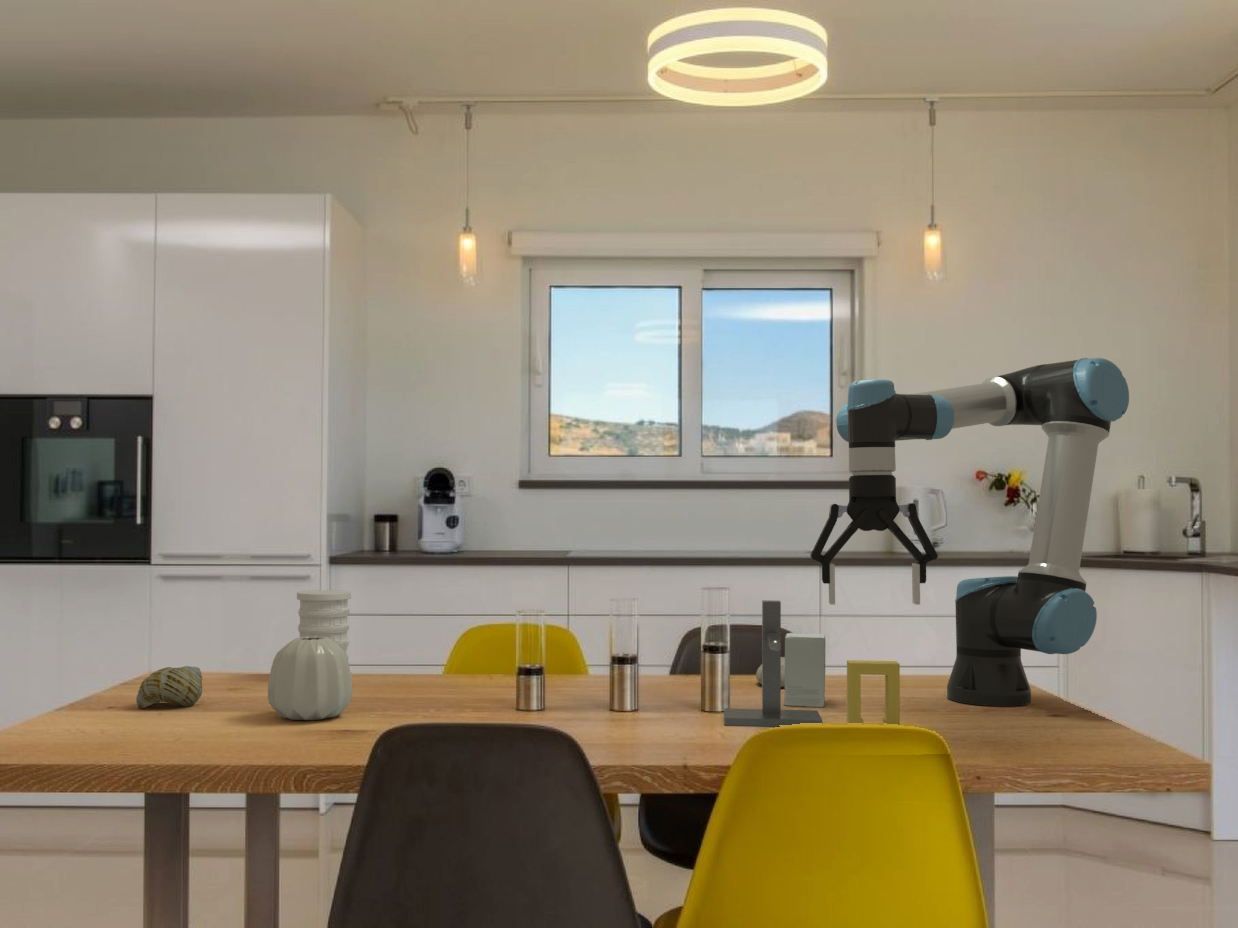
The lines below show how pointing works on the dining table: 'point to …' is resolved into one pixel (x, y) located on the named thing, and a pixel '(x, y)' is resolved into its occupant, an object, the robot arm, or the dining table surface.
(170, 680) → the seashell
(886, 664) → the c link
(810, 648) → the supplement box
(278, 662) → the vase
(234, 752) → the dining table surface
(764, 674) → the stand
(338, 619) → the decorative container
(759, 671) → the stone
